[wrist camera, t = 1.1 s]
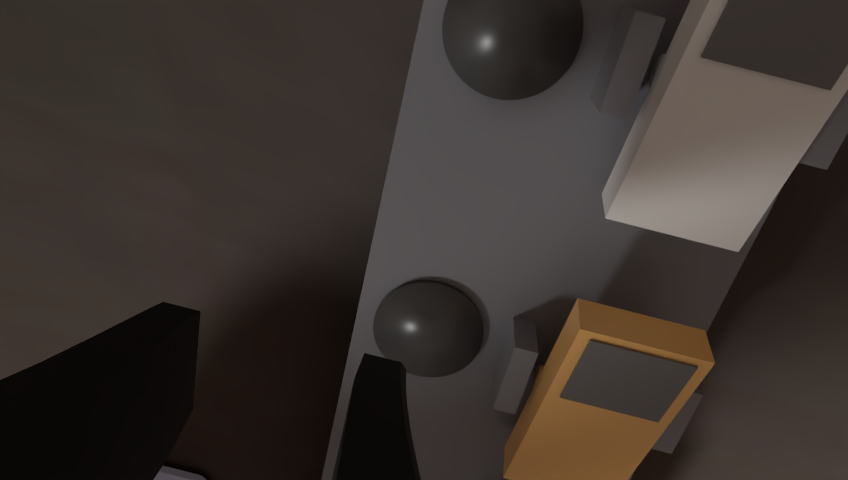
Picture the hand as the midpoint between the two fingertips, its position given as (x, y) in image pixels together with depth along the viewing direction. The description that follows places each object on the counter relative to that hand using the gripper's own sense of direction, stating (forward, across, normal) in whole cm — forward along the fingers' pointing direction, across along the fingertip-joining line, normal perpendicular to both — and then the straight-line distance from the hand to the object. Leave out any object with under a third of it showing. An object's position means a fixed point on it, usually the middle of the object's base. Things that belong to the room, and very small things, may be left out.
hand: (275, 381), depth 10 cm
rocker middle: (+5, -7, +2) cm, 9 cm away
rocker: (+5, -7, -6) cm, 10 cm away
